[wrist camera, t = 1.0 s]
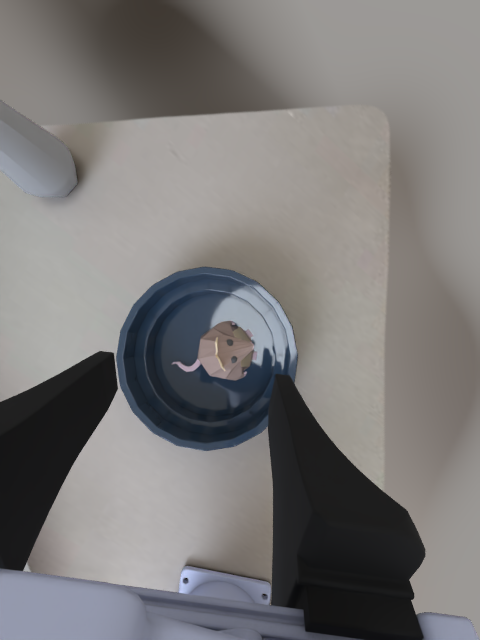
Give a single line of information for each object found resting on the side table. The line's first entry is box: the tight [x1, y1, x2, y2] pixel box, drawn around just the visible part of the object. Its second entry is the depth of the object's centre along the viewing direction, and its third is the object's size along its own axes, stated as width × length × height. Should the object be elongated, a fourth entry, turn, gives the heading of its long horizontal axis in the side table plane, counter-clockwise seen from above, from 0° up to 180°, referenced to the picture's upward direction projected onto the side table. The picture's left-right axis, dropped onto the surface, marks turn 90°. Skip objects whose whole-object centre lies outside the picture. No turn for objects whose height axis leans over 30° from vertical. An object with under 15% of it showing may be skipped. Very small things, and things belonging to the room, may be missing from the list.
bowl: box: [116, 267, 298, 451], centre depth 25 cm, size 14×14×4 cm
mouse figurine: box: [172, 321, 257, 381], centre depth 24 cm, size 5×8×7 cm, turn 104°
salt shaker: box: [0, 100, 78, 197], centre depth 23 cm, size 6×6×13 cm
